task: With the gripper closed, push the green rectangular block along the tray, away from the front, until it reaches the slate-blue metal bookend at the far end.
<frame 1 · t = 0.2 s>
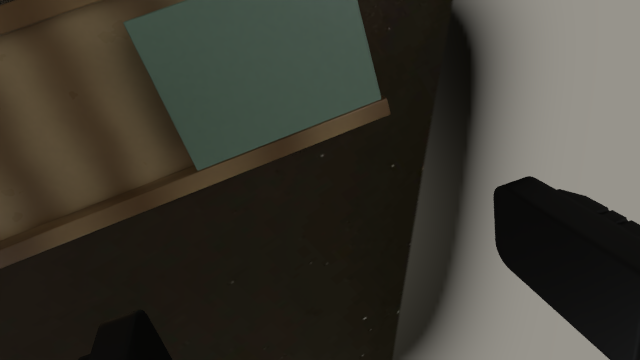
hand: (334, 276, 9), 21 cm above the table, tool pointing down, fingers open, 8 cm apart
tray: (87, 110, 26), on the table
green rectangular block: (255, 52, 26), point 1 cm above the table, touching tray
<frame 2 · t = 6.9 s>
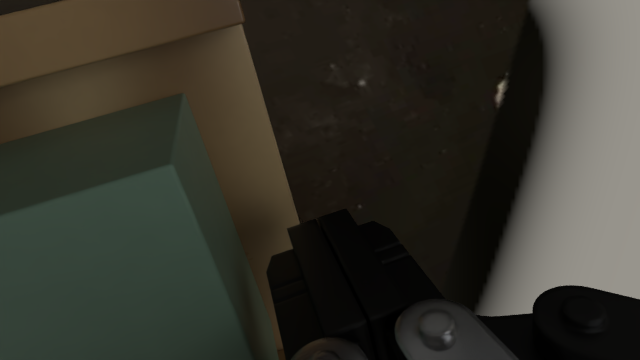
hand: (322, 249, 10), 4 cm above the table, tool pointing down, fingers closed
green rectangular block: (39, 287, 12), point 2 cm above the table, touching gripper
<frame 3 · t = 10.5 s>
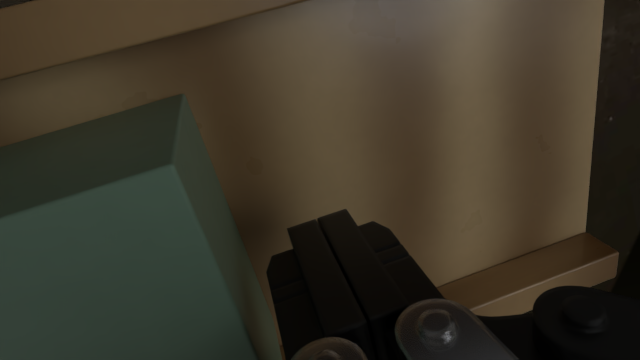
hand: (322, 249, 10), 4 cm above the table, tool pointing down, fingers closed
tray: (53, 253, 13), on the table
green rectangular block: (43, 288, 12), point 2 cm above the table, touching gripper
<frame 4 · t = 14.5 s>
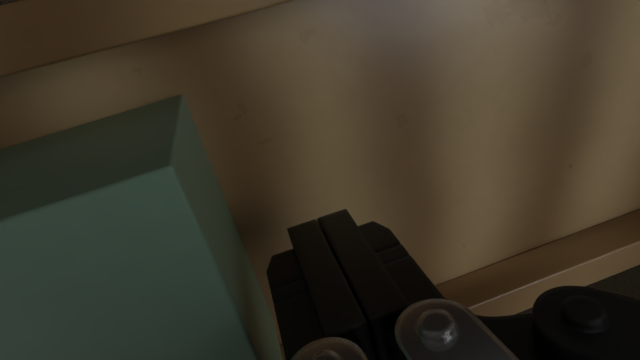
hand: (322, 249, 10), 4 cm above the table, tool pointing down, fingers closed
tray: (381, 146, 14), on the table
green rectangular block: (43, 290, 12), point 2 cm above the table, touching bookend, gripper, tray
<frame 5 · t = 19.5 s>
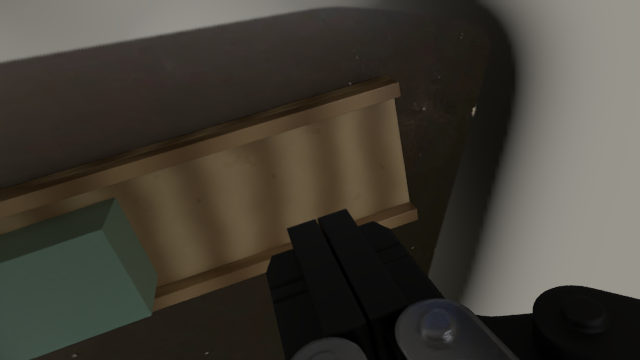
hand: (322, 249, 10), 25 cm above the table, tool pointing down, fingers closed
tray: (201, 207, 36), on the table
green rectangular block: (69, 261, 33), point 1 cm above the table, touching tray
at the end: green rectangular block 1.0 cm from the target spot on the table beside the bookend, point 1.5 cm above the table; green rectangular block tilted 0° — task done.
